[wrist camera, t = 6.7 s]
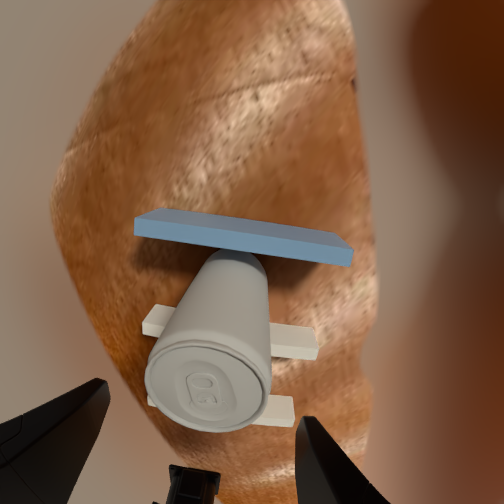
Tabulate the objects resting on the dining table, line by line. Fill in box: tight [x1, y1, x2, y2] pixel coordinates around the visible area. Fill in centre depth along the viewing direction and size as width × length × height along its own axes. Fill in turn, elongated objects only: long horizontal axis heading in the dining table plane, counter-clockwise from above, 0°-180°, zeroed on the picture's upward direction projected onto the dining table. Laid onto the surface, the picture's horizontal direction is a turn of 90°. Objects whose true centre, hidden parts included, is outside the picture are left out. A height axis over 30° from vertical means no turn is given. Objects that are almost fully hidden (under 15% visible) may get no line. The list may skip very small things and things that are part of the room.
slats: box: [134, 208, 354, 427], centre depth 20 cm, size 16×12×4 cm
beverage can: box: [144, 249, 272, 433], centre depth 15 cm, size 5×5×12 cm
